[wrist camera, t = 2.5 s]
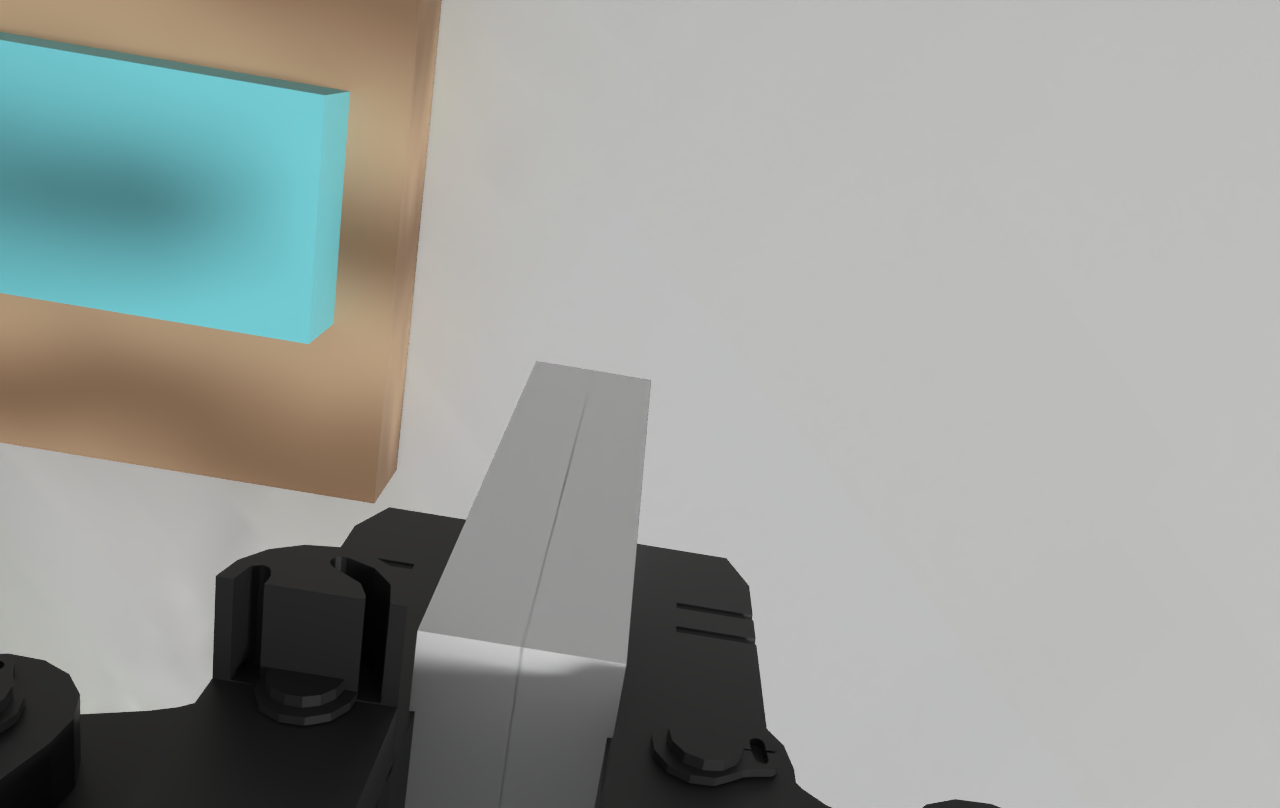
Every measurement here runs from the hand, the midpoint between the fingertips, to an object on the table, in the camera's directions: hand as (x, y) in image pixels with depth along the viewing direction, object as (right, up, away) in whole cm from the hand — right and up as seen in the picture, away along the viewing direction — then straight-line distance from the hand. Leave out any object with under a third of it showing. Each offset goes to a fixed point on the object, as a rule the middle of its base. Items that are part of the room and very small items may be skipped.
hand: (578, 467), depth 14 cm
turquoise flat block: (-11, +6, +13) cm, 19 cm away
